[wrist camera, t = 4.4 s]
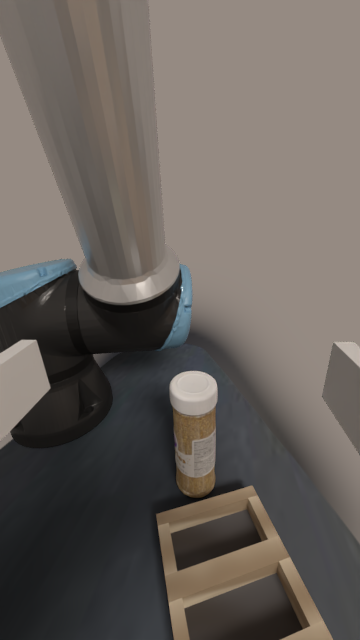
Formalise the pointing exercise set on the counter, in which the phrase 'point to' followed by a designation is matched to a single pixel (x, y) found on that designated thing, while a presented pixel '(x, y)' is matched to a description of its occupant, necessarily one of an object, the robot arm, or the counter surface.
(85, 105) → the robot arm
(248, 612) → the slotted wooden board
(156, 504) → the counter surface
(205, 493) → the sprinkles bottle
